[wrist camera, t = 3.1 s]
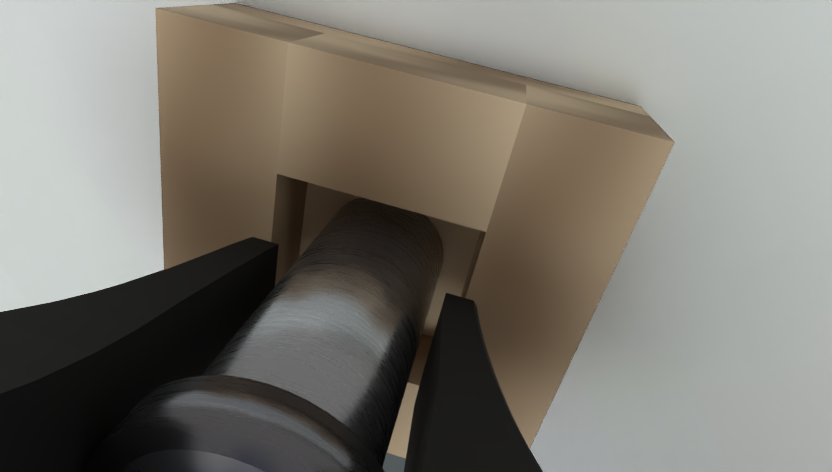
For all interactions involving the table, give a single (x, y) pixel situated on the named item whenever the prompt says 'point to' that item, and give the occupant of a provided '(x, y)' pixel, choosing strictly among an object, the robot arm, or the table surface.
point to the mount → (405, 174)
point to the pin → (301, 362)
